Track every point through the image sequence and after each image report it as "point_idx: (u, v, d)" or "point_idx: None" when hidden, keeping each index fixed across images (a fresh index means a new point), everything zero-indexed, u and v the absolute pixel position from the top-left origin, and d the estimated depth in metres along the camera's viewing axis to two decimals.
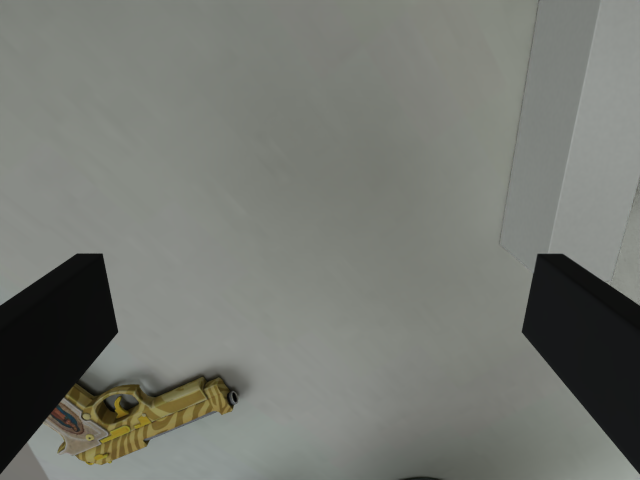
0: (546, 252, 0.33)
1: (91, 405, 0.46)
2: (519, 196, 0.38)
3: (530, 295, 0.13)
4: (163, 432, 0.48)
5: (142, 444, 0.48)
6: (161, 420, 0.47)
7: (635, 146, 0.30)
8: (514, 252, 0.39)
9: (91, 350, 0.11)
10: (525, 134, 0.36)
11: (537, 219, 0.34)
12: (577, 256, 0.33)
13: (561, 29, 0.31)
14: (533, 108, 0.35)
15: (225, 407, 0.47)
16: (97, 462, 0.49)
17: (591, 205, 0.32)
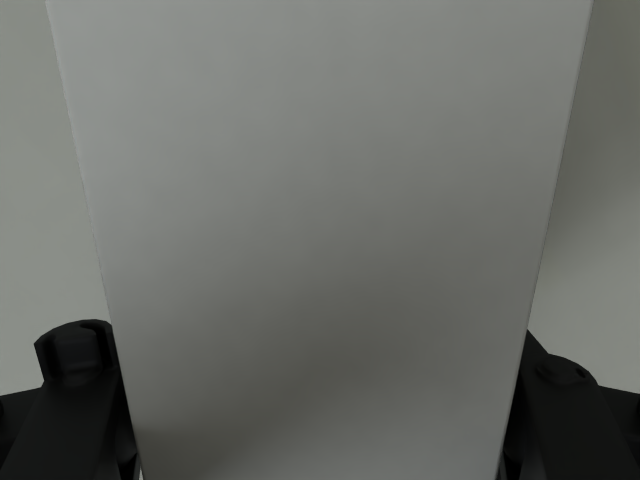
0: None
1: None
2: None
3: None
4: None
5: None
6: None
7: None
8: None
9: None
10: None
11: None
12: None
13: None
14: None
15: None
16: None
17: (295, 288, 0.05)
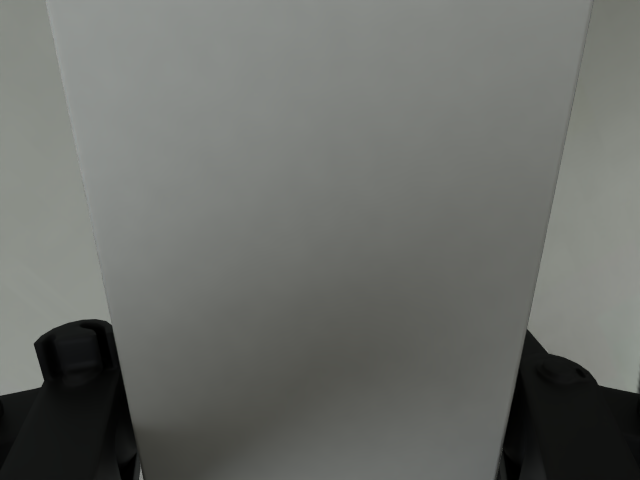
0: None
1: None
2: None
3: None
4: None
5: None
6: None
7: None
8: None
9: None
10: None
11: None
12: None
13: None
14: None
15: None
16: None
17: (295, 286, 0.05)
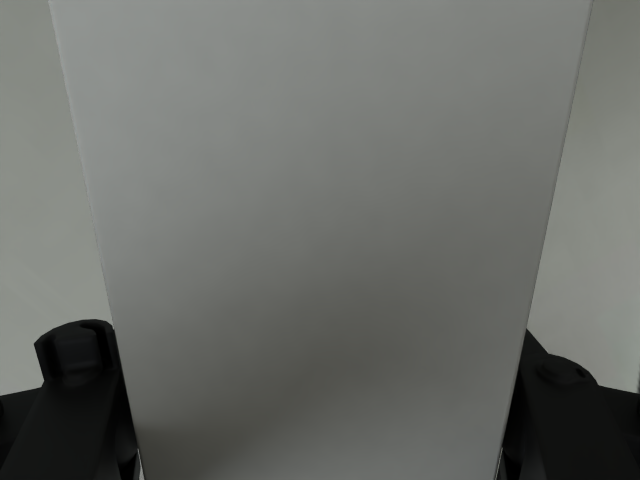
0: None
1: None
2: None
3: None
4: None
5: None
6: None
7: None
8: None
9: None
10: None
11: None
12: None
13: None
14: None
15: None
16: None
17: (296, 285, 0.05)
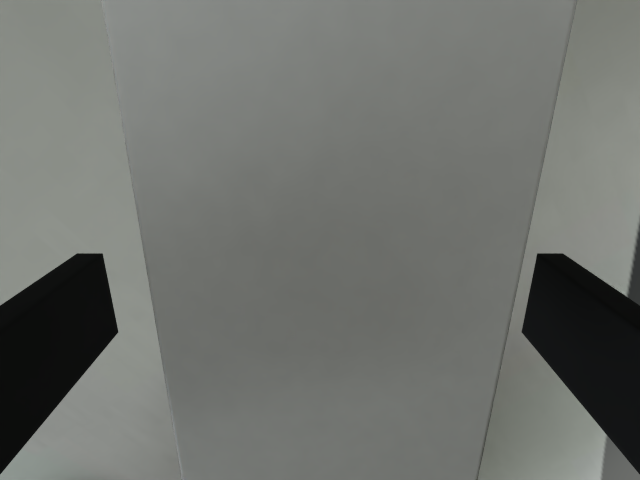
0: None
1: None
2: None
3: (530, 294, 0.13)
4: None
5: None
6: None
7: None
8: None
9: (91, 350, 0.11)
10: None
11: None
12: (304, 397, 0.07)
13: None
14: None
15: None
16: None
17: (312, 148, 0.06)
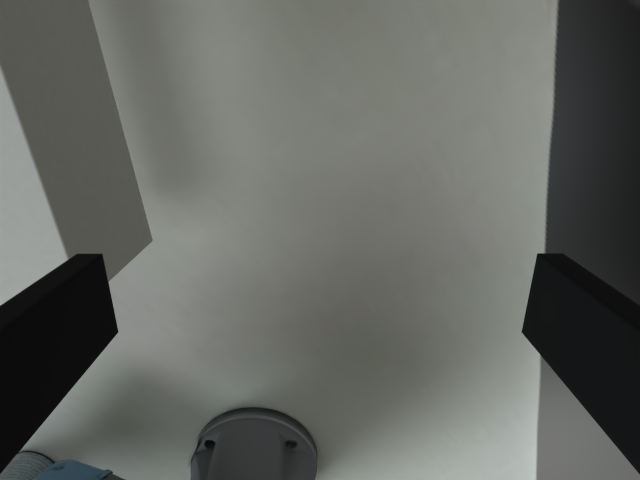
0: None
1: None
2: None
3: (530, 294, 0.13)
4: None
5: None
6: None
7: None
8: None
9: (91, 350, 0.11)
10: None
11: None
12: None
13: None
14: None
15: None
16: None
17: None
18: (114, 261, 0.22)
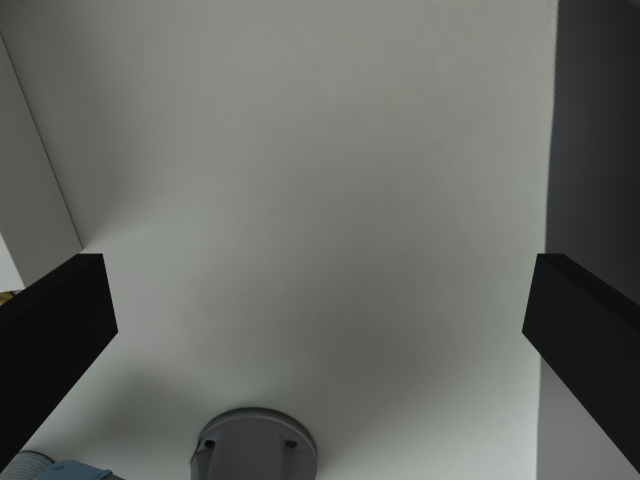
0: None
1: None
2: None
3: (530, 294, 0.13)
4: None
5: None
6: None
7: None
8: None
9: (91, 350, 0.11)
10: None
11: None
12: None
13: None
14: None
15: None
16: None
17: None
18: (49, 263, 0.36)
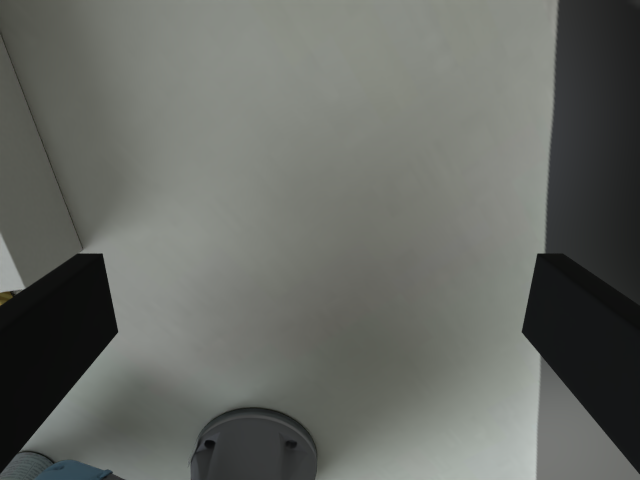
0: None
1: None
2: None
3: (530, 294, 0.13)
4: None
5: None
6: None
7: None
8: None
9: (91, 350, 0.11)
10: None
11: None
12: None
13: None
14: None
15: None
16: None
17: None
18: (49, 263, 0.36)
